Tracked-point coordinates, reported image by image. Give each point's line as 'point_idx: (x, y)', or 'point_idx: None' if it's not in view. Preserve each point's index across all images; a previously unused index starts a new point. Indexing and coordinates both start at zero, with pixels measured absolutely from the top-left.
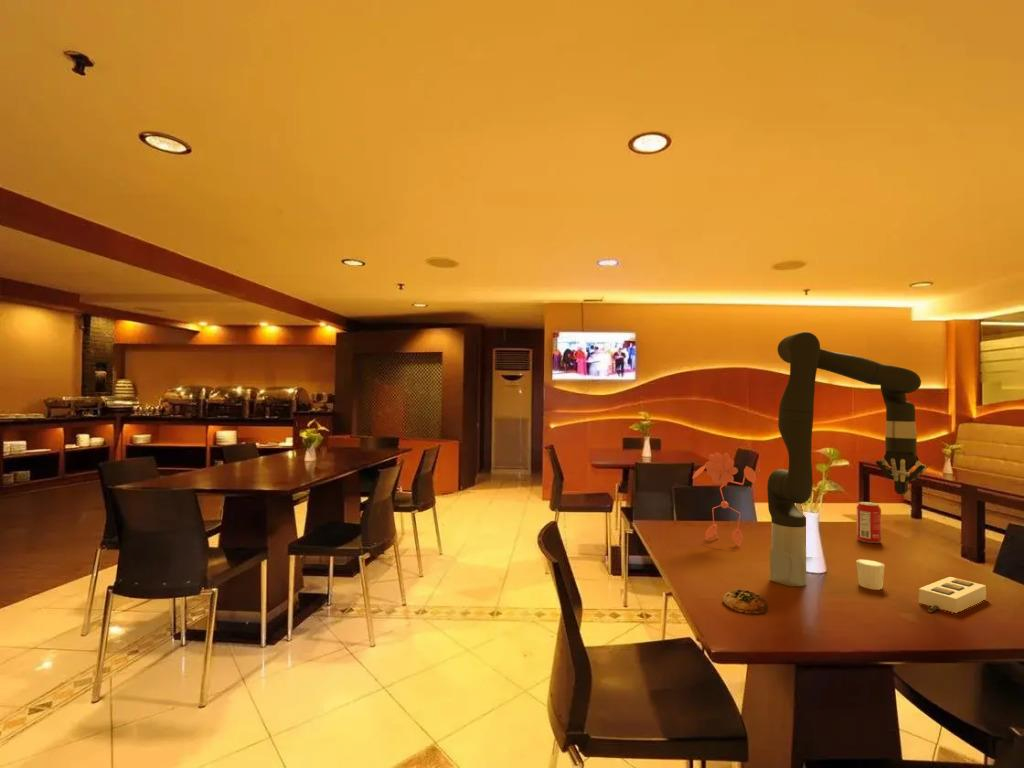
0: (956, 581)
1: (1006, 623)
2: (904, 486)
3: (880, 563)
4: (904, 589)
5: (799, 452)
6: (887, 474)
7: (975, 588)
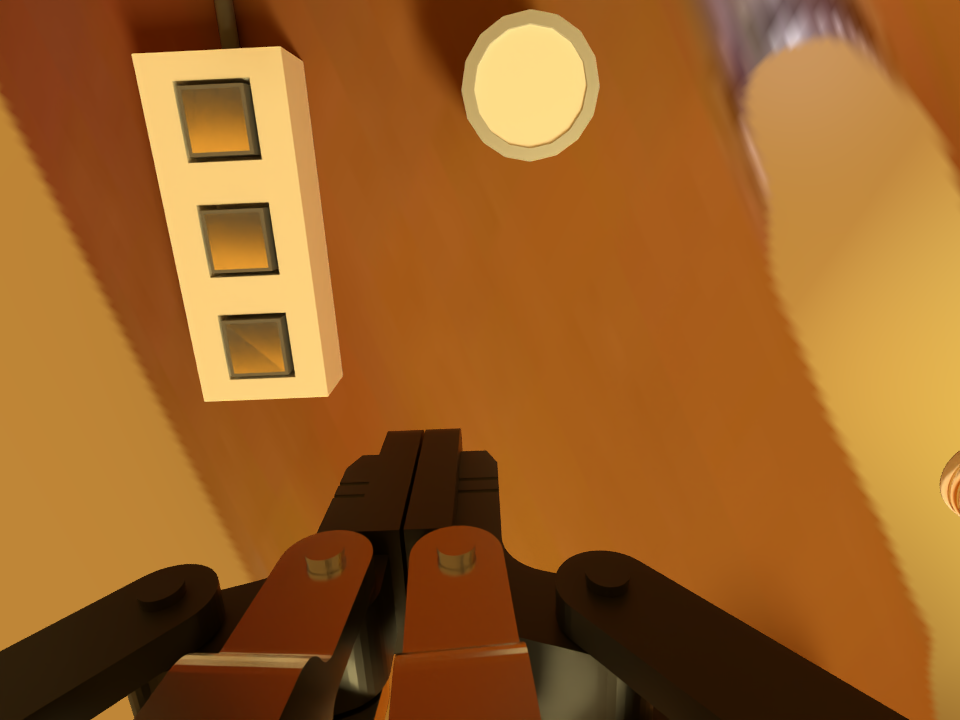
0: (268, 331)
1: (57, 156)
2: (341, 506)
3: (495, 132)
4: (428, 212)
5: None
6: (655, 611)
7: (193, 314)
